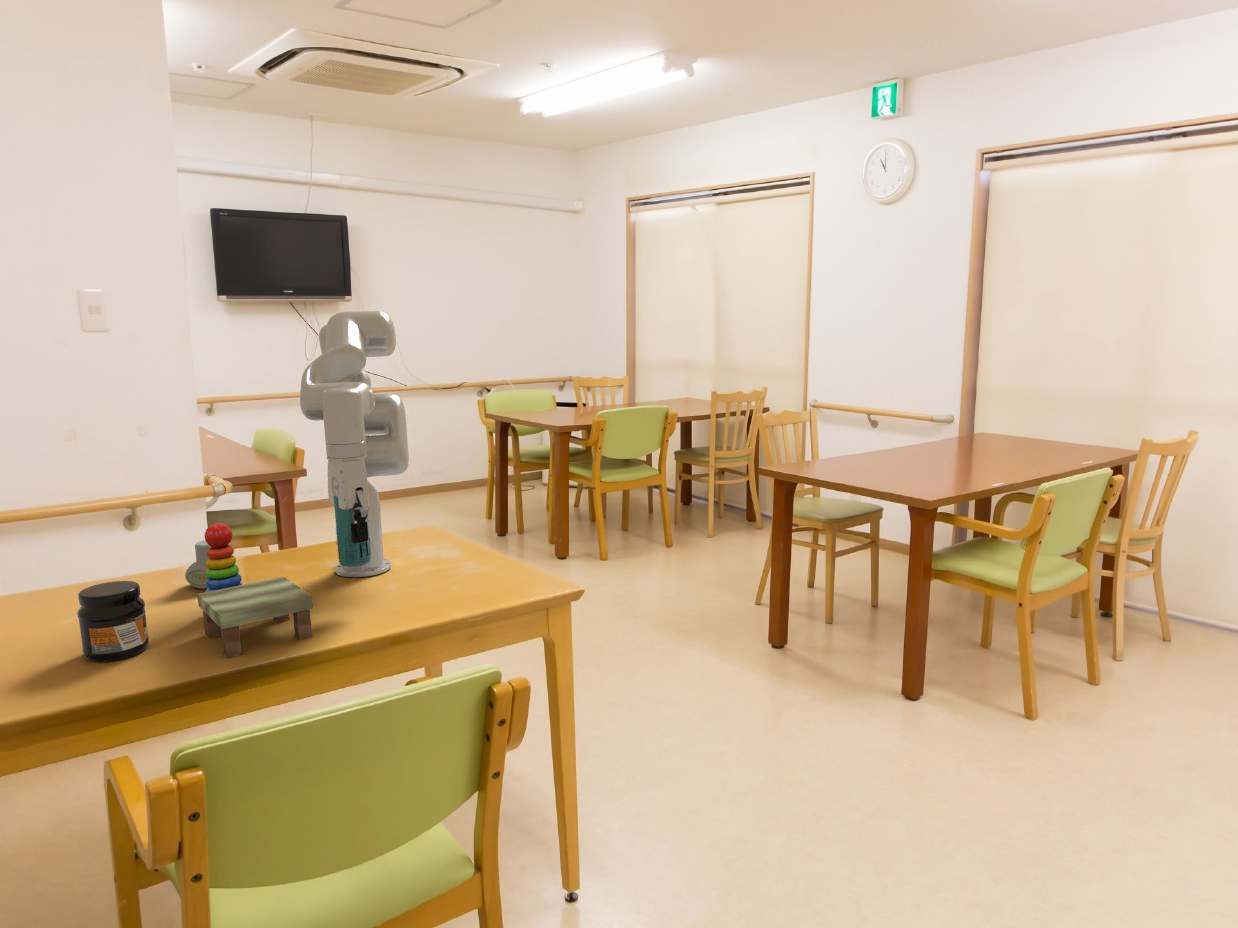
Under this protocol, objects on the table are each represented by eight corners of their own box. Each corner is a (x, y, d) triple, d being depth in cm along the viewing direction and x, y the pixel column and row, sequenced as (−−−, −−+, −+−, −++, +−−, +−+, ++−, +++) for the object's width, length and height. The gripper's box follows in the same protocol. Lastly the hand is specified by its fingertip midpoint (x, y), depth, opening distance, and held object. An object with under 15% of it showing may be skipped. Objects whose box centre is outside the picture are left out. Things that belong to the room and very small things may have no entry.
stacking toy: (257, 608, 179) (248, 520, 176) (228, 622, 172) (218, 530, 168) (226, 605, 182) (217, 517, 178) (196, 618, 174) (186, 527, 171)
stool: (201, 634, 165) (197, 593, 164) (287, 614, 175) (283, 576, 174) (225, 659, 153) (220, 616, 152) (315, 636, 163) (312, 595, 161)
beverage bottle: (362, 575, 173) (355, 476, 169) (332, 573, 174) (323, 475, 170) (378, 564, 179) (371, 469, 175) (348, 562, 180) (340, 468, 176)
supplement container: (139, 660, 154) (131, 595, 151) (73, 666, 151) (64, 600, 149) (157, 638, 164) (150, 577, 162) (96, 644, 162) (87, 582, 159)
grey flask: (179, 590, 192) (174, 546, 190) (203, 579, 200) (198, 536, 198) (225, 592, 190) (220, 547, 189) (246, 580, 198) (242, 537, 197)
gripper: (311, 446, 176) (319, 532, 180) (344, 459, 163) (352, 551, 166) (347, 442, 180) (354, 525, 184) (382, 454, 167) (389, 543, 171)
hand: (353, 537), depth 175 cm, fingers closed on beverage bottle, 6 cm apart
